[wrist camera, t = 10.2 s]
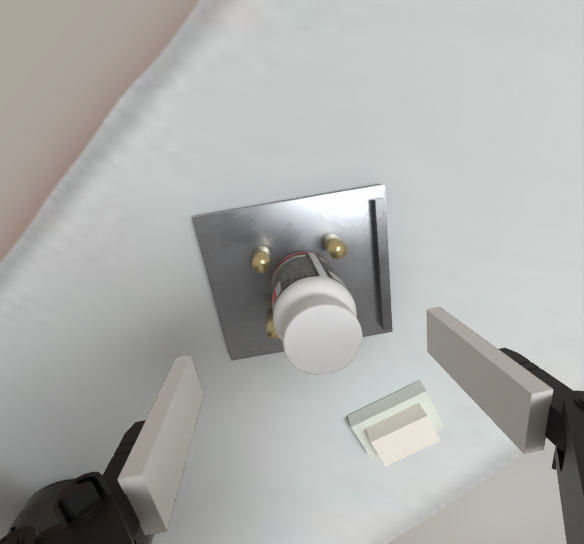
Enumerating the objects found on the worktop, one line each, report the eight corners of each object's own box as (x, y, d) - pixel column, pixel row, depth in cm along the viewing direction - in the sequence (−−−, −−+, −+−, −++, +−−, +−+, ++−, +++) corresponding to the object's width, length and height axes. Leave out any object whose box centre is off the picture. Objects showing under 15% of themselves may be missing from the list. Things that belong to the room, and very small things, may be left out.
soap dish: (368, 448, 35) (378, 476, 32) (347, 415, 33) (355, 441, 30) (437, 416, 34) (454, 441, 31) (419, 380, 32) (435, 403, 29)
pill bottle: (267, 306, 27) (267, 379, 17) (274, 246, 25) (278, 291, 16) (328, 311, 27) (360, 384, 18) (339, 253, 26) (381, 301, 16)
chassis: (232, 353, 29) (226, 381, 25) (195, 215, 25) (181, 223, 21) (387, 325, 30) (405, 349, 26) (379, 184, 25) (400, 186, 21)
